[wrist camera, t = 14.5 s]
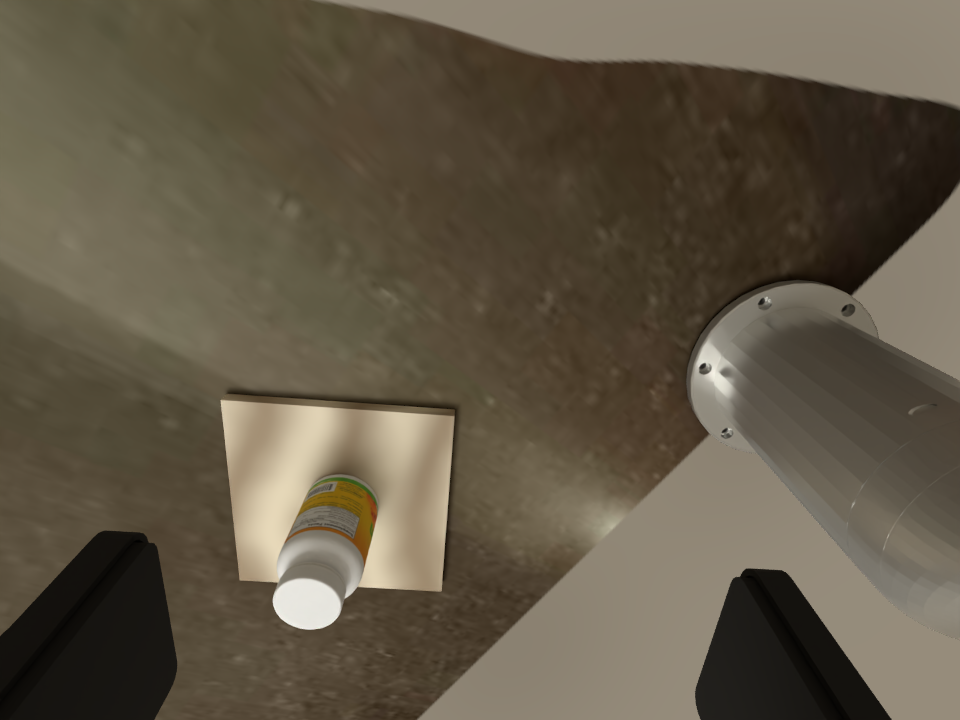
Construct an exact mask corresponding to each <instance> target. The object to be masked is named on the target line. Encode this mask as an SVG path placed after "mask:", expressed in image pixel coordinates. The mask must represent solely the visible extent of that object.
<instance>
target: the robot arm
mask: <svg viewBox="0 0 960 720" xmlns="http://www.w3.org/2000/svg"><path fill="white" fill-rule="evenodd" d="M761 299H762V300H761ZM760 300H761V302H759V301H760ZM701 364H703V365H702V366H700V365H701ZM686 384H687V392H688V399H689V401H690V404H691V407H692V410H693V412H694V413H695V415H696V416H697V418H698V419H699V421H700V423H701V424H702V425H703V426H704V427H705V428H706V430H707V431H708V432H709V433H710V434H711V435H712V436H713V437H715V438H716V439H717V440H718V441H720V442H721V443H723V444H725V445H728V446H730V447H732V448H734V449H737V450H741V451H745V452H749V453H757V454H758V455H759V456H760V457H761V458H762V459H763V460H764V462H765V463H766V464H767V465H768V466H769V467H770V468H771V469H772V471H773V472H774V473H775V474H776V475H777V476H778V477H779V478H780V480H781V481H782V482H783V483H784V484H785V485H786V487H787V488H788V489H789V490H790V491H791V492H792V493H793V495H794V496H795V497H796V498H797V499H798V500H799V501H800V503H801V504H802V505H803V506H804V507H805V508H806V509H807V511H808V512H809V513H810V514H811V515H812V516H813V517H814V519H815V520H816V521H817V522H818V523H819V524H820V525H821V527H822V528H823V529H824V530H825V531H826V532H827V533H828V535H829V536H830V537H831V538H832V539H833V540H834V541H835V542H836V543H837V545H838V546H839V547H840V548H841V549H842V550H843V551H844V553H845V554H846V555H847V556H848V557H849V558H850V559H851V561H852V562H853V563H854V564H855V565H856V566H857V568H858V569H859V570H860V571H861V572H862V573H863V574H864V575H865V576H866V577H867V578H868V580H869V581H870V582H871V583H872V584H873V585H874V586H875V588H877V590H878V591H879V592H880V593H881V594H882V595H883V596H884V597H885V598H886V599H887V600H888V601H889V602H890V603H892V604H893V605H894V606H896V607H897V608H898V609H899V610H901V611H902V612H903V613H904V614H906V615H907V616H909V617H910V618H912V619H914V620H915V621H917V622H919V623H921V624H922V625H924V626H926V627H927V628H930V629H932V630H934V631H937V632H939V633H941V634H944V635H946V636H949V637H951V638H955V639H958V640H960V381H959V380H957V379H955V378H953V377H951V376H949V375H947V374H946V373H944V372H941V371H940V370H938V369H936V368H934V367H932V366H930V365H928V364H926V363H924V362H922V361H920V360H918V359H916V358H915V357H913V356H911V355H909V354H907V353H905V352H903V351H901V350H899V349H897V348H895V347H893V346H891V345H889V344H887V343H885V342H883V341H882V340H880V339H879V337H878V332H877V328H876V326H875V324H874V322H873V320H872V318H871V316H870V314H869V313H868V312H867V310H865V308H864V307H863V306H862V304H861V303H860V302H858V301H857V300H856V299H854V298H853V297H851V296H850V295H849V294H847V293H845V292H843V291H841V290H839V289H837V288H835V287H832V286H829V285H826V284H822V283H819V282H816V281H804V280H792V281H782V282H776V283H773V284H769V285H766V286H762V287H759V288H757V289H755V290H753V291H751V292H749V293H747V294H744V295H742V296H741V297H739V298H738V299H736V300H735V301H734V302H732V303H731V304H729V305H728V306H726V307H725V308H724V309H723V310H722V311H721V312H720V313H719V314H718V315H717V316H716V317H715V318H713V319H712V321H711V322H710V323H709V325H708V326H707V327H706V328H705V330H704V331H703V332H702V334H701V335H700V337H699V339H698V341H697V343H696V345H695V347H694V349H693V351H692V354H691V358H690V361H689V364H688V369H687V380H686ZM176 672H177V658H176V652H175V647H174V641H173V635H172V629H171V624H170V618H169V612H168V606H167V601H166V595H165V589H164V584H163V578H162V572H161V566H160V561H159V555H158V550H157V547H156V545H155V544H154V543H148V540H147V537H146V536H145V535H144V534H143V533H137V532H120V531H102V532H100V533H98V534H97V535H96V536H95V537H93V539H92V540H91V541H90V542H89V543H88V544H87V545H86V546H85V547H84V548H83V549H82V550H81V551H80V553H79V554H78V555H77V556H76V557H75V558H74V559H73V560H72V561H71V562H70V563H69V564H68V565H67V566H66V568H65V569H64V570H63V571H62V572H61V573H60V574H59V575H58V576H57V577H56V578H55V579H54V580H53V581H52V583H51V584H50V585H49V586H48V587H47V588H46V589H45V590H44V591H43V592H42V593H41V594H40V595H39V596H38V598H37V599H36V600H35V601H34V602H33V603H32V604H31V605H30V606H29V607H28V608H27V609H26V610H25V611H24V613H23V614H22V615H21V616H20V617H19V618H18V619H17V620H16V621H15V622H14V623H13V624H12V625H11V626H10V628H9V629H7V630H6V631H5V632H4V633H3V634H2V635H1V636H0V720H154V719H155V717H156V715H157V713H158V712H159V710H160V708H161V706H162V704H163V702H164V700H165V699H166V697H167V695H168V693H169V691H170V689H171V687H172V685H173V682H174V680H175V676H176ZM695 698H696V706H697V710H698V714H699V716H700V719H701V720H891V718H890V717H889V715H888V714H887V713H886V711H885V710H884V708H883V707H882V705H881V704H880V703H879V701H878V700H877V698H876V697H875V695H874V694H873V693H872V691H871V690H870V688H869V687H868V686H867V684H866V683H865V681H864V680H863V679H862V677H861V676H860V675H859V673H858V671H857V670H856V669H855V667H854V666H853V664H852V663H851V662H850V660H849V659H848V657H847V656H846V655H845V654H844V652H843V650H842V649H841V648H840V646H839V645H838V643H837V642H836V640H835V639H834V638H833V636H832V635H831V633H830V632H829V631H828V629H827V628H826V627H825V625H824V624H823V622H822V621H821V619H820V618H819V617H818V615H817V614H816V612H815V611H814V609H813V608H812V607H811V605H810V604H809V602H808V601H807V600H806V598H805V597H804V595H803V594H802V593H801V591H800V590H799V588H798V587H797V585H796V584H795V583H794V581H793V580H792V579H791V577H790V576H789V575H788V574H787V573H786V572H784V571H782V570H766V569H745V570H744V571H743V572H742V574H741V576H740V577H735V578H734V579H733V580H732V582H731V584H730V587H729V590H728V594H727V596H726V599H725V602H724V606H723V608H722V611H721V615H720V617H719V621H718V623H717V626H716V629H715V633H714V635H713V638H712V641H711V645H710V647H709V650H708V653H707V656H706V659H705V662H704V665H703V668H702V671H701V674H700V677H699V680H698V683H697V686H696V691H695Z"/></svg>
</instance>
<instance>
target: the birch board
mask: <svg viewBox="0 0 960 720" xmlns="http://www.w3.org/2000/svg"><path fill="white" fill-rule="evenodd" d="M221 407H222V416H223V426H224V435H225V445H226V454H227V464H228V473H229V482H230V492H231V501H232V511H233V520H234V530H235V539H236V548H237V558H238V567H239V577H240V580H245V581H263V582H279V578H278V574H277V560H278V557H279V554H280V551H281V549H282V547H283V545H284V542H285V540H286V538H287V536H288V534H289V532H290V529H291V527H292V525H293V523H294V521H295V519H296V516H297V514H298V512H299V510H300V508H301V505H302V503H303V501H304V499H305V497H306V495H307V493H308V491H309V489H310V488H311V487H312V485H313V484H314V483H316V482H317V481H318V480H320V479H321V478H324V477H326V476H330V475H336V474H345V475H350V476H354V477H356V478H359V479H361V480H362V481H364V482H365V483H367V484H368V485H369V486H370V487H371V488H372V490H373V491H374V493H375V494H376V497H377V499H378V505H379V510H378V516H377V520H376V524H375V528H374V532H373V536H372V540H371V544H370V548H369V552H368V556H367V560H366V564H365V568H364V572H363V575H362V578H361V581H360V583H359V585H358V587H371V588H389V589H407V590H425V591H441V590H442V577H443V564H444V550H445V537H446V524H447V510H448V497H449V483H450V470H451V457H452V443H453V430H454V417H455V409H440V408H426V407H411V406H397V405H383V404H368V403H354V402H339V401H325V400H311V399H296V398H282V397H268V396H253V395H239V394H226V395H225V396H224V397H223V398H222V399H221Z"/></svg>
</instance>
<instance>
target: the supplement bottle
mask: <svg viewBox="0 0 960 720" xmlns="http://www.w3.org/2000/svg"><path fill="white" fill-rule="evenodd" d="M378 510H379V505H378V499H377V497H376V494H375V493H374V491H373V490H372V488H371V487H370V486H369V485H368V484H367V483H365V482H364V481H362V480H361V479H359V478H356V477H354V476H350V475H345V474H336V475H330V476H326V477H324V478H321V479H320V480H318V481H317V482H316V483H314V484H313V485H312V487H311V488H310V489H309V491H308V493H307V495H306V497H305V499H304V501H303V503H302V505H301V508H300V510H299V512H298V514H297V516H296V519H295V521H294V523H293V525H292V527H291V529H290V532H289V534H288V536H287V538H286V540H285V542H284V545H283V547H282V549H281V551H280V554H279V557H278V560H277V574H278V578H279V582H278V585H277V588H276V590H275V593H274V596H273V605H274V609H275V611H276V613H277V614H278V616H279V617H280V618H281V619H282V620H284V621H285V622H286V623H288V624H290V625H292V626H294V627H297V628H301V629H319V628H323V627H326V626H328V625H330V624H331V623H333V622H334V621H335V620H336V619H337V617H338V616H339V614H340V612H341V609H342V606H343V603H344V599H345V598H346V597H348V596H349V595H350V594H352V593H353V591H354V590H355V589H356V588H357V587H358V585H359V583H360V581H361V578H362V575H363V572H364V568H365V564H366V560H367V556H368V552H369V548H370V544H371V540H372V536H373V532H374V528H375V524H376V520H377V516H378Z"/></svg>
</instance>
